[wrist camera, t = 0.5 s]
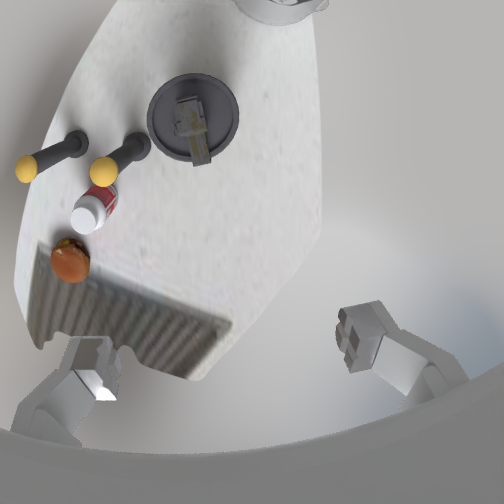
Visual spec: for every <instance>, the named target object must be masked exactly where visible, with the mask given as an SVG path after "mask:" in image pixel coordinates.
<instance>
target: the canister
mask: <svg viewBox="0 0 504 504" xmlns="http://www.w3.org/2000/svg"><path fill="white" fill-rule="evenodd" d="M238 123H239V108H238V104H237V101H236V98H235V97H234V95H233V93H232V92H231V90H230V89H229V88H228V87H227V86H226V85H225V84H224V83H223V82H221V81H220V80H218V79H216V78H214V77H212V76H209V75H205V74H198V73H190V74H184V75H181V76H178V77H175V78H173V79H171V80H170V81H168V82H167V83H165V84H164V85H163V86H162V87H160V88H159V89H158V91H157V92H156V93H155V94H154V96H153V98H152V100H151V102H150V104H149V108H148V112H147V127H148V131H149V134H150V137H151V139H152V140H153V142H154V144H155V145H156V146H157V148H158V149H159V150H161V151H162V152H163V153H164V154H166V155H167V156H169V157H171V158H173V159H176V160H179V161H184V162H192V163H193V166H194V167H195V166H200V165H204V164H209V163H211V158H212V157H214V156H216V155H217V154H219V153H220V152H222V151H223V150H224V149H225V148H226V147H227V146H228V145H229V143H230V142H231V141H232V139H233V138H234V135H235V133H236V131H237V128H238Z"/></svg>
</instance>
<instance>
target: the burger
mask: <svg viewBox="0 0 504 504" xmlns="http://www.w3.org/2000/svg"><path fill="white" fill-rule="evenodd" d="M50 260H51V265H52V268H53V270H54V272H55V273H56V275H57V276H58V277H59V278H61V279H62V280H64V281H66V282H70V283H76V282H80V281H82V280H84V279H85V278H86V277H87V276H88V274H89V269H90V268H89V267H90V256H89V255H88V253H87V251H86V250H85V248H84V247H83V246H82V245H81V243H80V242H78V241H77V240H75V239H67V238H65V239H62V240H60V241H59V243H58V244H57V246H56V247H55V248H54V249H53V250H52V253H51V259H50Z"/></svg>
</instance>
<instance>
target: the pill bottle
mask: <svg viewBox="0 0 504 504" xmlns="http://www.w3.org/2000/svg"><path fill="white" fill-rule="evenodd" d="M117 203H118V194H117V191H116V190H115V188H114V187H113V186H112V185H109V186H107V187H100V186H97V185H96V184H95V185H93V186H92V187H91V188H90V189H89V190H88V191H87V192H86V193H85V194H83V195H82V196H81V197H80V198H79V199H78V200H77V202H76V203H75V205H74V208H73V211H72V213H71V216H70V222H71V225H72V227H73V228H74V230H75V231H77V232H78V233H80V234H89V233H91V232H92V231H94V230H97V229H99V228H100V227H101V226H102V225H103V224H104V223H105V221H106V220H107V218H108V217H109V215H110V214H111V213H112V211H113V210H114V209H115V207H116V205H117Z"/></svg>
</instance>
